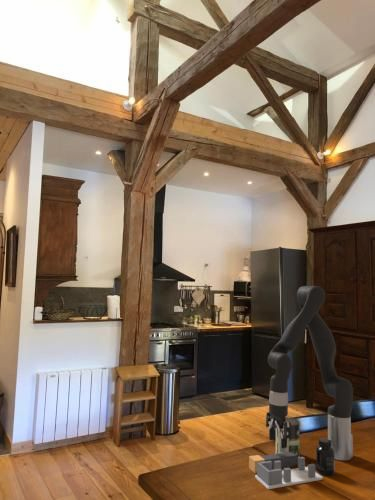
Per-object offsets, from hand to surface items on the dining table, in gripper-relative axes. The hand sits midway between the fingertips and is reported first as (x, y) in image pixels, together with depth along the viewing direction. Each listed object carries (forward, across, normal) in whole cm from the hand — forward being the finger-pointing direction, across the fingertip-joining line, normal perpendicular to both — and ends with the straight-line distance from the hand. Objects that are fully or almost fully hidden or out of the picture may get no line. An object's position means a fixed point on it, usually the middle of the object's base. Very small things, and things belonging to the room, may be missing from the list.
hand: (277, 443), depth 156 cm
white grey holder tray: (+9, -10, +2) cm, 13 cm away
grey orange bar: (+9, 0, +2) cm, 9 cm away
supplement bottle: (+9, -10, -16) cm, 20 cm away
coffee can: (+9, +8, -10) cm, 16 cm away
